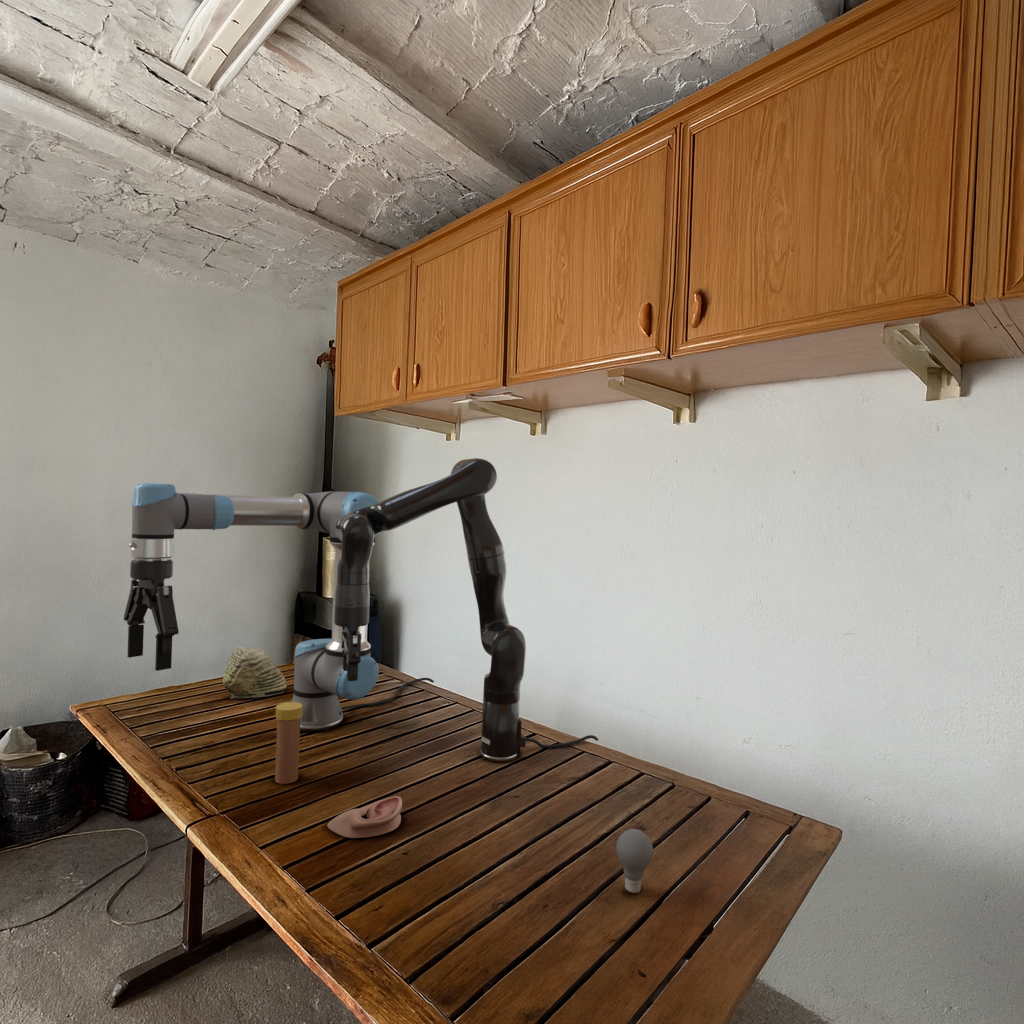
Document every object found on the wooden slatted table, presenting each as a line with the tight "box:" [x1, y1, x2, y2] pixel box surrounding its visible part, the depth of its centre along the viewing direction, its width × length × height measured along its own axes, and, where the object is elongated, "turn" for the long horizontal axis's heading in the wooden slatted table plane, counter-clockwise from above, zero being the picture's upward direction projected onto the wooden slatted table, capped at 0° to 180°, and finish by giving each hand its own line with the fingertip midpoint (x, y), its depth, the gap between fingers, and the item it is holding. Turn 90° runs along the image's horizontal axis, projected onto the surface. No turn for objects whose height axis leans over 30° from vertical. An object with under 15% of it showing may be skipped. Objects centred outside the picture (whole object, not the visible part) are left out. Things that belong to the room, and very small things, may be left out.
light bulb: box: [615, 828, 654, 894], centre depth 106 cm, size 6×6×10 cm
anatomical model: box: [327, 795, 403, 839], centre depth 123 cm, size 13×4×12 cm
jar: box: [274, 718, 301, 785], centre depth 141 cm, size 5×5×16 cm
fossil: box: [222, 646, 288, 699], centre depth 198 cm, size 9×18×15 cm, turn 132°
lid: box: [274, 701, 303, 721], centre depth 141 cm, size 6×6×2 cm
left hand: (148, 662), depth 129 cm, fingers open, 13 cm apart
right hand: (349, 675), depth 142 cm, fingers open, 8 cm apart
